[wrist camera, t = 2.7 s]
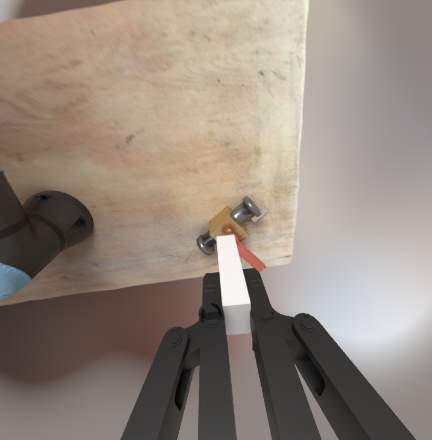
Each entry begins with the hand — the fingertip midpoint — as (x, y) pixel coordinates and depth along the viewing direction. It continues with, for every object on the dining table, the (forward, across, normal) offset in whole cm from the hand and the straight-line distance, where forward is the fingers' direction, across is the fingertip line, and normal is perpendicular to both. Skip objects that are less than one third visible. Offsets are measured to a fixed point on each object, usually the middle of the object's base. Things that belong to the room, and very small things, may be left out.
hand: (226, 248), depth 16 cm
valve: (+33, +3, -16) cm, 37 cm away
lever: (+24, +6, -20) cm, 31 cm away
